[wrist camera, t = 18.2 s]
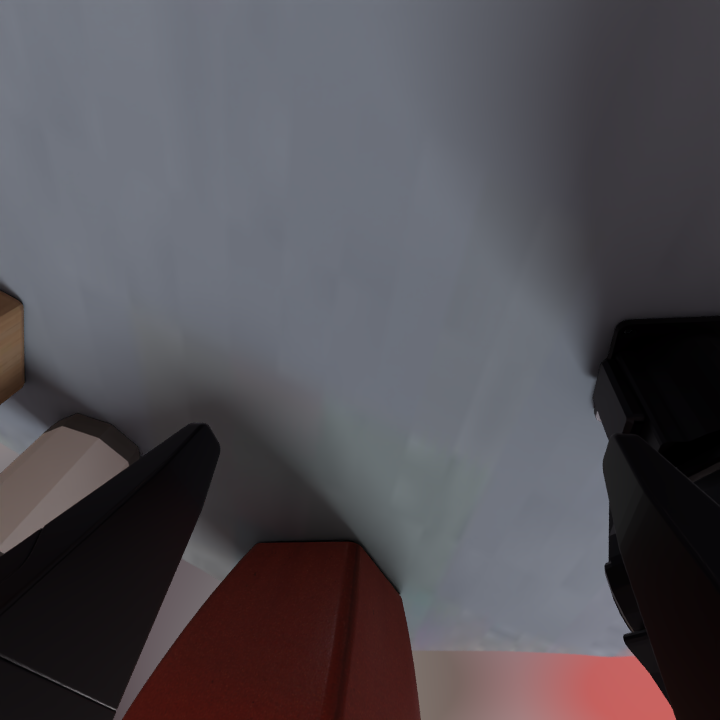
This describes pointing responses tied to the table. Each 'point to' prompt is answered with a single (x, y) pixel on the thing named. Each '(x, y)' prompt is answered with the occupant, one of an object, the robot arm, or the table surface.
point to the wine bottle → (59, 474)
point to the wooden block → (11, 346)
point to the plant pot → (290, 644)
